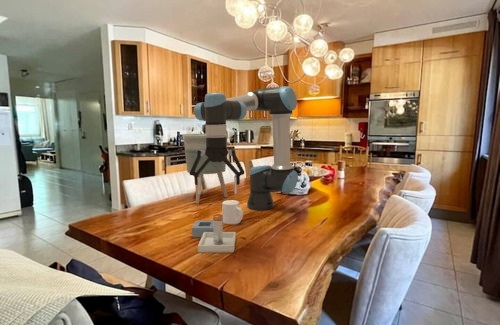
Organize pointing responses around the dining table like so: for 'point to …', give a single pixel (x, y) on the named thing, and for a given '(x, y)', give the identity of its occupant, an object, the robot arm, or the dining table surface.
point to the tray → (208, 245)
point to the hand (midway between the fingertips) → (217, 193)
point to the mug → (231, 212)
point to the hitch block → (202, 227)
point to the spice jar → (218, 229)
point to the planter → (202, 160)
